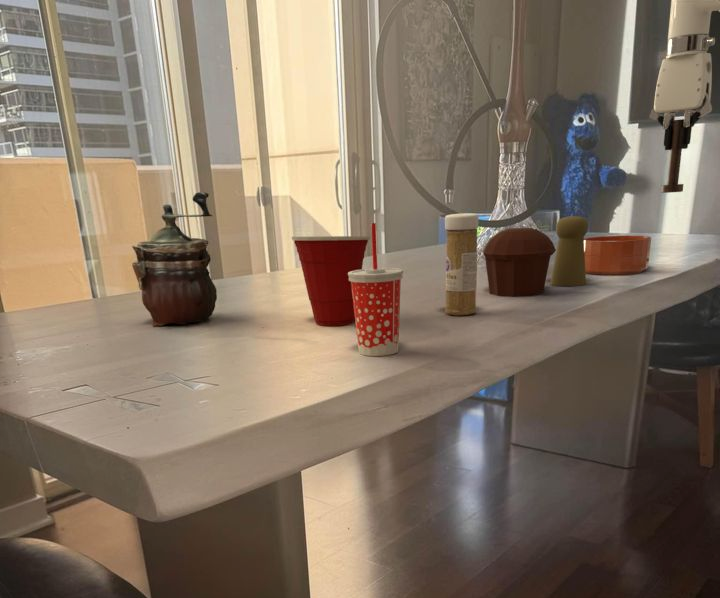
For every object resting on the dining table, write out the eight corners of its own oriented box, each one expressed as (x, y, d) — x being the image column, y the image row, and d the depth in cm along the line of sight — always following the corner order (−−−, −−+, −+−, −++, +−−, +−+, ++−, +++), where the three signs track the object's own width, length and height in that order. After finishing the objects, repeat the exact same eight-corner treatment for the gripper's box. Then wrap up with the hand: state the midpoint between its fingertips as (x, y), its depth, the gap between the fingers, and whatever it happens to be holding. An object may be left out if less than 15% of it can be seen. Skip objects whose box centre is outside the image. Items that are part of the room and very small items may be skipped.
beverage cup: (378, 343, 84) (374, 221, 79) (415, 349, 80) (413, 221, 74) (341, 353, 80) (333, 225, 75) (378, 360, 76) (372, 225, 71)
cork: (562, 287, 117) (566, 218, 113) (543, 283, 123) (547, 217, 118) (593, 284, 119) (598, 216, 114) (573, 280, 124) (578, 215, 120)
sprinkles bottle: (439, 313, 101) (438, 214, 96) (465, 309, 103) (466, 212, 97) (456, 317, 97) (456, 215, 92) (483, 313, 99) (485, 213, 93)
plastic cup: (388, 317, 100) (385, 229, 95) (346, 332, 92) (340, 236, 87) (328, 313, 105) (322, 230, 101) (283, 326, 97) (274, 236, 93)
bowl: (632, 266, 138) (635, 234, 136) (658, 273, 127) (662, 238, 125) (571, 269, 138) (574, 237, 136) (592, 276, 127) (594, 242, 125)
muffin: (475, 297, 112) (476, 232, 108) (486, 287, 122) (487, 227, 118) (551, 297, 108) (555, 230, 105) (556, 287, 118) (559, 224, 114)
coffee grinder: (197, 333, 96) (177, 193, 89) (126, 326, 104) (103, 197, 97) (257, 316, 106) (243, 189, 99) (188, 312, 114) (171, 193, 106)
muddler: (677, 191, 152) (685, 120, 147) (686, 191, 148) (694, 118, 143) (657, 192, 152) (664, 121, 147) (665, 192, 148) (673, 119, 143)
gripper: (735, 43, 137) (722, 145, 144) (655, 57, 148) (646, 152, 155) (721, 39, 132) (708, 146, 139) (639, 54, 143) (631, 152, 150)
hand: (676, 148), depth 147 cm, fingers closed on muddler, 2 cm apart
